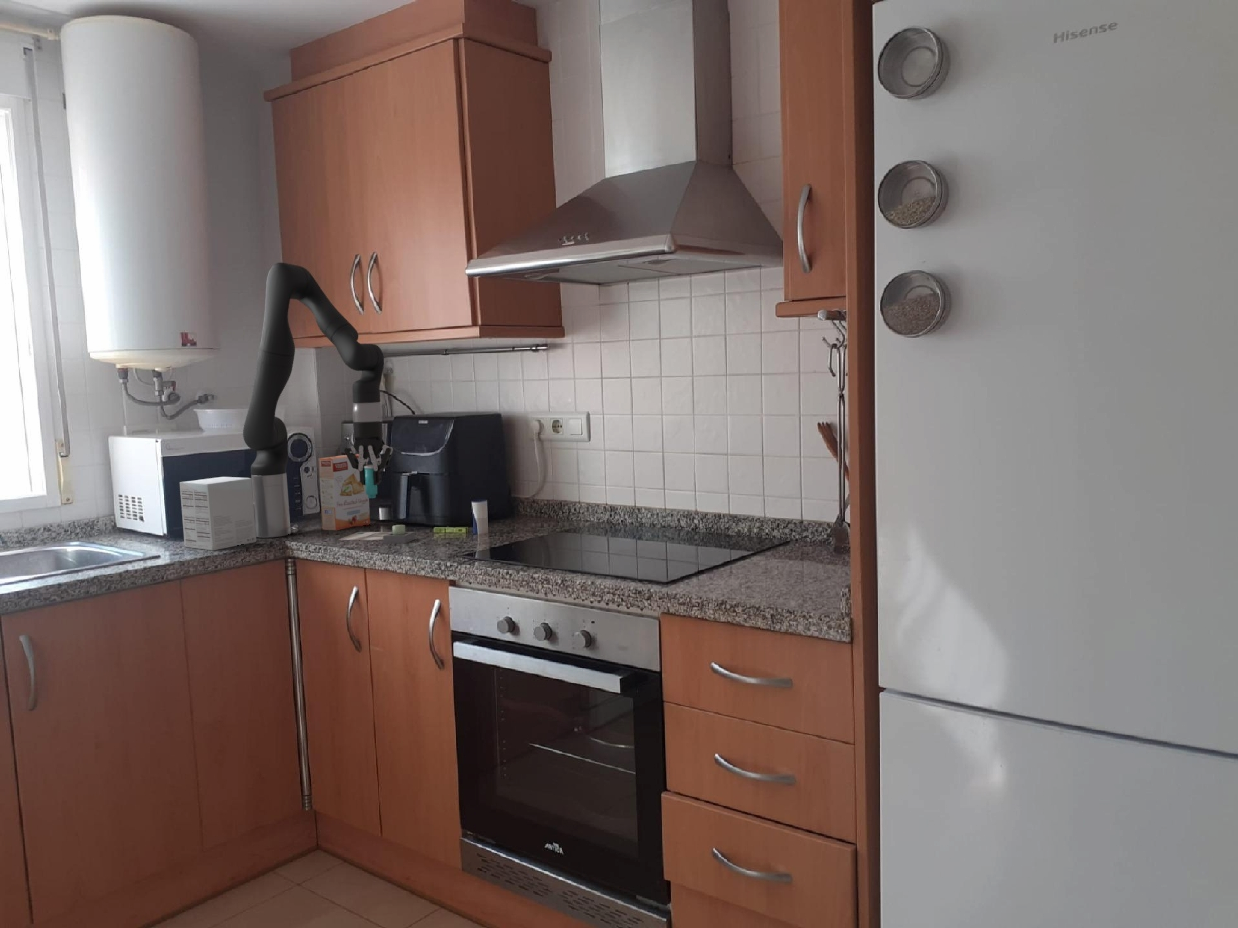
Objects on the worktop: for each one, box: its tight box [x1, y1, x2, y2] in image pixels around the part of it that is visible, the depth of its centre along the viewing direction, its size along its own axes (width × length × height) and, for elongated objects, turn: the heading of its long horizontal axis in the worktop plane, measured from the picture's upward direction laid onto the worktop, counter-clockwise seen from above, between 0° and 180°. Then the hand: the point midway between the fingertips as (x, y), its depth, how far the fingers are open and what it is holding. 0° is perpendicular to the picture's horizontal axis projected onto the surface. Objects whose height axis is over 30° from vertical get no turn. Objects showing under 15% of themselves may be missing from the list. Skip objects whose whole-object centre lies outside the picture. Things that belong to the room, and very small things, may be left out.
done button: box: [391, 524, 406, 535], centre depth 253 cm, size 3×3×3 cm
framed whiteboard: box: [337, 531, 392, 541], centre depth 263 cm, size 16×13×1 cm
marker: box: [364, 464, 378, 499], centre depth 261 cm, size 3×3×9 cm
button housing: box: [382, 531, 416, 544], centre depth 253 cm, size 6×6×2 cm
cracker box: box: [318, 453, 371, 531], centre depth 281 cm, size 14×6×21 cm, turn 152°
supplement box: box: [179, 476, 257, 551], centre depth 261 cm, size 13×13×18 cm
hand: (371, 484), depth 261 cm, fingers closed on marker, 3 cm apart
